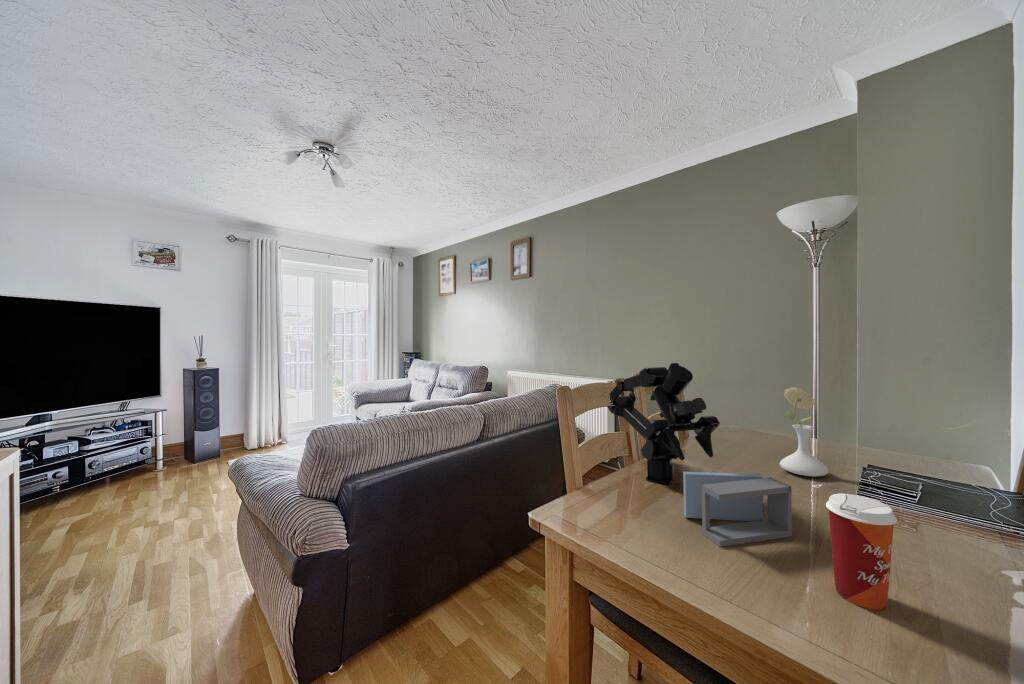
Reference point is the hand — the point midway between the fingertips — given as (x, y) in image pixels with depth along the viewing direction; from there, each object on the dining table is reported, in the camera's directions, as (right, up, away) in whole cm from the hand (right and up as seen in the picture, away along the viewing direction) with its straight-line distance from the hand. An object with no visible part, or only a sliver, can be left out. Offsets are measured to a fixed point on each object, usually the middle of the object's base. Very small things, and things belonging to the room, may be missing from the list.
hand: (697, 458), depth 92 cm
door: (+2, -11, -7) cm, 13 cm away
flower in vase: (+41, -10, +19) cm, 46 cm away
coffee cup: (+10, -12, -32) cm, 36 cm away
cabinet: (+3, -12, -14) cm, 19 cm away
